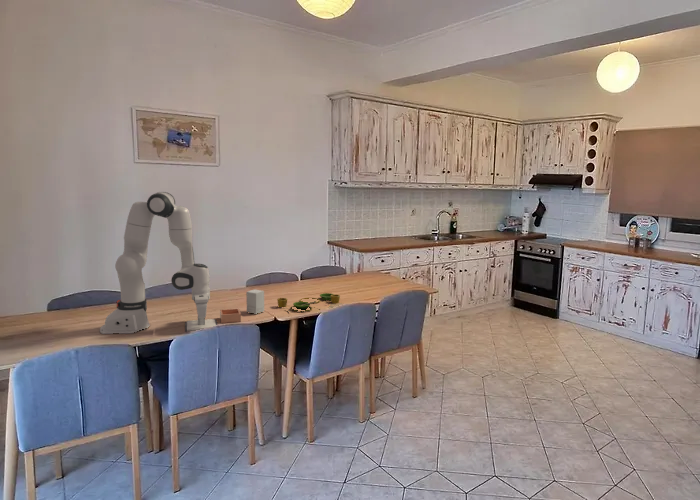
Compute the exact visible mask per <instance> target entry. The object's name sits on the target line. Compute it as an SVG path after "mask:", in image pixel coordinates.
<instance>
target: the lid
mask: <svg viewBox="0 0 700 500" xmlns="http://www.w3.org/2000/svg"><path fill="white" fill-rule="evenodd" d="M215 320H216V319H215V318H212V319H211V318H210V319H209V318H208V319H206V317H205V318H204V324H203V325H200V318H198V317H197V320H193V319H192V320H187V321H186V322H187V332H192V331H191V330H200V329H204V328H209V327H213V326H216V323H215ZM200 331H201V330H200Z"/></svg>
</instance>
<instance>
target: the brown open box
mask: <svg viewBox="0 0 700 500" xmlns="http://www.w3.org/2000/svg"><path fill="white" fill-rule="evenodd" d="M219 314H220V315H219V319H220V323H221V324H228V323H229V324H234V323H242V312H241V310H240V309H239V308H230V309H225V308H224V309H219Z"/></svg>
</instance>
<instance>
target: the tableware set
mask: <svg viewBox="0 0 700 500" xmlns="http://www.w3.org/2000/svg"><path fill="white" fill-rule="evenodd" d="M319 297H320V298H321V299H323V301H326V300H329V301H330V302H332V303H330V304H329V305H330V306H329V307H328V308H329V309H330V308H333V307H340V306H339V305H343V303H342V302H341V303H340V299H341V298H340V297H341V295H340V294H337V293H336V294H334V293H330V292H329V293H328V292H324V293H320V294H319ZM309 298H310V297H303V298H300V299H299V301H296V302H293V303H292V306H290V308H289V309H290V310H291V311H292V310H294V309H292V307H296V308H297V309H301V310H305V311H308V312H310V310H311V311H312V309H313V307H311V305H314V304H313V303H315V304H318V303H320V302H321V300H320V299H319V298H317V297H311V298H312V299H317V300H319V301H318V302H316V301H314V302H310V303H308V302H303V301H301V300H302V299H309ZM276 300H277V306H279V307H286V308H287V306H288V305H287V304H288V298H287V297H279V298H277V299H276ZM279 307H278V308H279ZM308 307H309V308H310V310H306V309H307V308H308ZM294 311H298V310H294ZM294 311H293V312H294ZM302 313H305V312H304V311H303V312H302Z"/></svg>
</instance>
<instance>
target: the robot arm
mask: <svg viewBox="0 0 700 500" xmlns="http://www.w3.org/2000/svg"><path fill="white" fill-rule="evenodd" d="M175 199H176V198H175V197H174V196H173V194H171V193H169V192H166V191H158V192H155V193H153V194H151V195H149V197H148V198H147V200H146V201H136V202H134V203H133V204H132V205H131V206H130V210H129V212H128V214H127V219H126V225H125V230H124V235H123V253H122V254H121V255H120V256H118V258H117V259H116V261H115V270H116V273H117V277H118V281H119V286H120V287H119V288H120V299H118V300H117V301H116V309H115V310H112V312H110V313H109V314H108V315H107V317H106V318H105V320H104V321H105V322H104V324H103V325H102V326H101V327H100V328H99V333H100V334H103V335H106V334H110V335H111V334H112V335H113V333H119V334H135V333H137V331H138V332H139V330H141V331H143V330H142V329H144V330H146V329H145V328H147V329H148V327H149V326H151V325H150V324H151V323H150V322H149V318H148V315H147V311H148V310H147V309H148V303H147V299H146V284H145V281H144V278H143V272H142V270H143V268H144V267H145V266H146V264H147V257H148V247H149V239H150V236H151V234H150V233H151V230H152V229H151V228H152V224H153V220H154V217H155V216H157V217H162V218H163V219H164V218H165V219H167V223H168V225H167V226H168V237H169V240H170V243H172V245H173V246H176V247H177V248H178V250H179V251H180V261H181V268H180V269H179V270H178V271H177V272H175V273H174V274H173V275H172V276H171V284H172V287H174V288H175V290H179V291H183V290H189V289H191V300H192V301H193V303H195V306H196V313H197V319H198V318H200V325H203V324H204V318H205V319H206V316H207V310H208V303H209V300H210V299H211V288H210V281H211V280H210V278H211V277H210V270H209V267H208V266H207V265H206V264H203V263H196V262H195V253H194V247H193V222H192V217H191V212H190V210H189V209H188V208H187V207H185V206H181V205H177V204H176V200H175ZM149 328H150V327H149ZM134 332H135V333H134Z"/></svg>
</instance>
